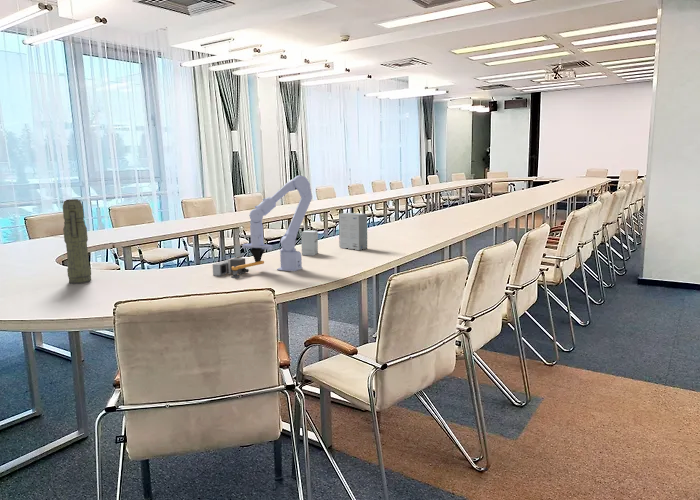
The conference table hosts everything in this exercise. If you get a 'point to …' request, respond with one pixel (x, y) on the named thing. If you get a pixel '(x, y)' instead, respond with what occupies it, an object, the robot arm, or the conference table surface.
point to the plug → (236, 263)
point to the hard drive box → (353, 231)
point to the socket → (220, 268)
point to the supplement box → (309, 242)
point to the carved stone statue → (76, 242)
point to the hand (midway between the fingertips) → (258, 264)
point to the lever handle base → (235, 274)
